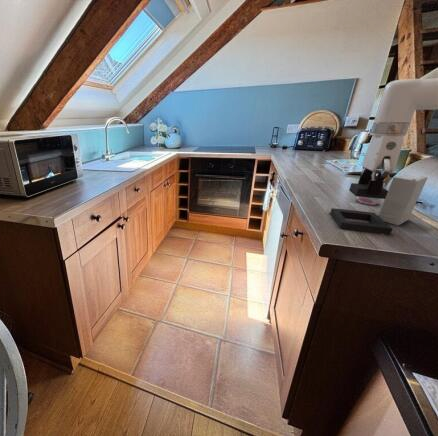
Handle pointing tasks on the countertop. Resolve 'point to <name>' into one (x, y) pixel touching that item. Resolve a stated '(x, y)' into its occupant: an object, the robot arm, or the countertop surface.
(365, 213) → the frame
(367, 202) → the pill bottle
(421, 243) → the countertop surface
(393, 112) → the robot arm
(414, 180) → the cosmetic box
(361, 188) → the black pad
